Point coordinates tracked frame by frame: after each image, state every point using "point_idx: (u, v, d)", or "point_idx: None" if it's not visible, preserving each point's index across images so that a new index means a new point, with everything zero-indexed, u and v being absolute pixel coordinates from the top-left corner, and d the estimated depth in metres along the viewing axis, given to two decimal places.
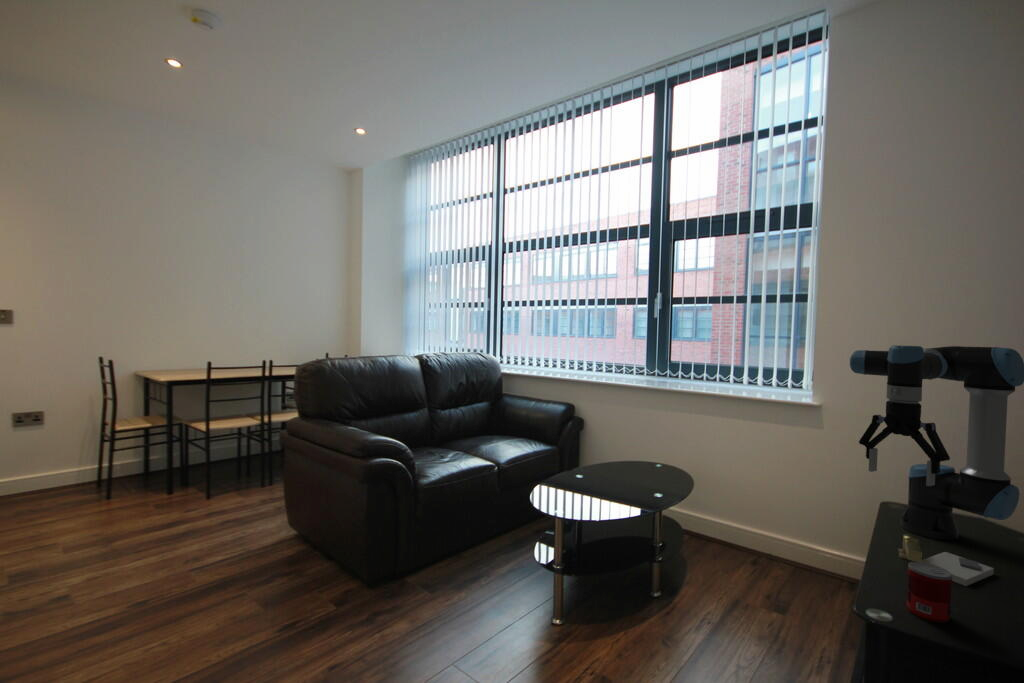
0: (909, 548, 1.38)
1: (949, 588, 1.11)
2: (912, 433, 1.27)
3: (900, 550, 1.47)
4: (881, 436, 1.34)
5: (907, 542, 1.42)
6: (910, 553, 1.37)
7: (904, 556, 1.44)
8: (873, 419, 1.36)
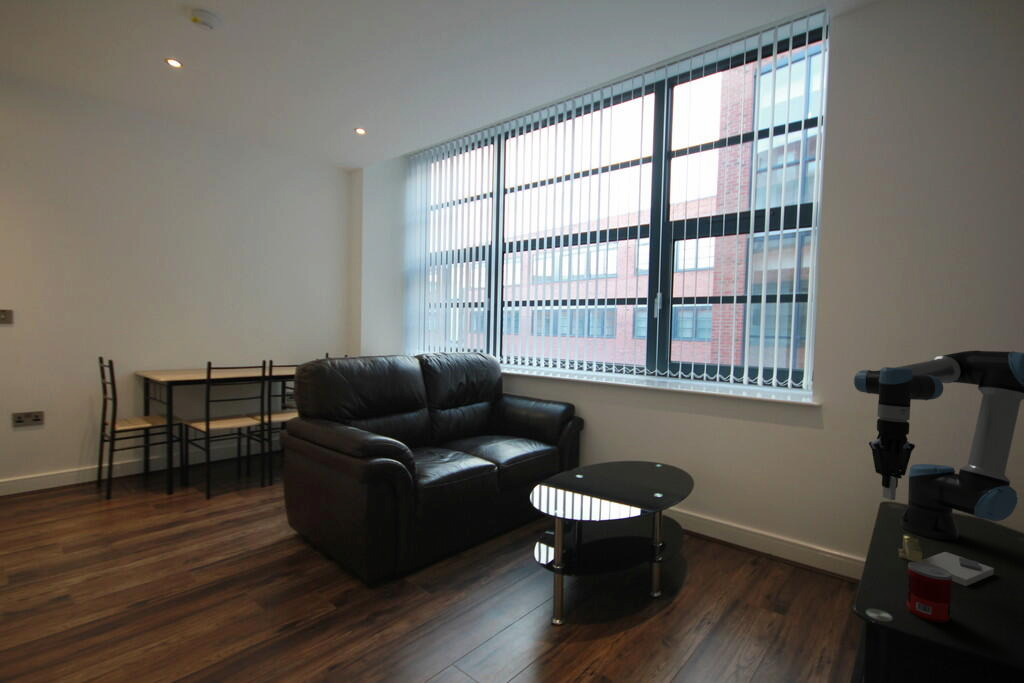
0: (909, 548, 1.38)
1: (949, 588, 1.11)
2: (901, 450, 1.39)
3: (900, 550, 1.47)
4: (891, 459, 1.40)
5: (907, 542, 1.42)
6: (910, 553, 1.37)
7: (904, 556, 1.44)
8: (878, 447, 1.39)
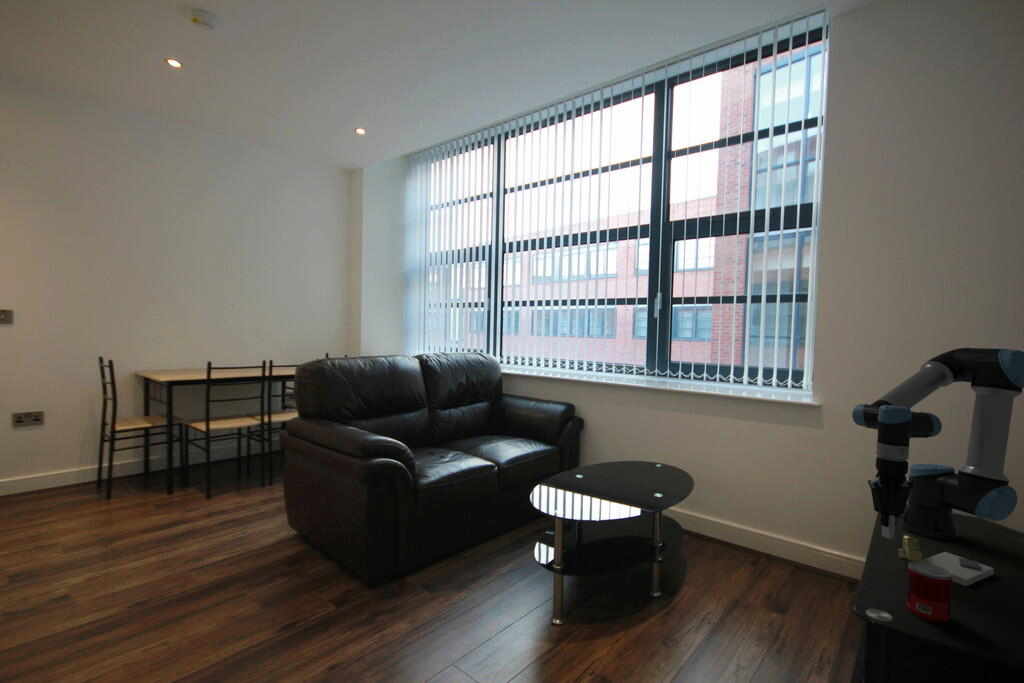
0: (909, 548, 1.38)
1: (949, 588, 1.11)
2: (900, 489, 1.39)
3: (900, 550, 1.47)
4: (890, 498, 1.39)
5: (907, 542, 1.42)
6: (910, 553, 1.37)
7: (904, 556, 1.44)
8: (877, 487, 1.39)
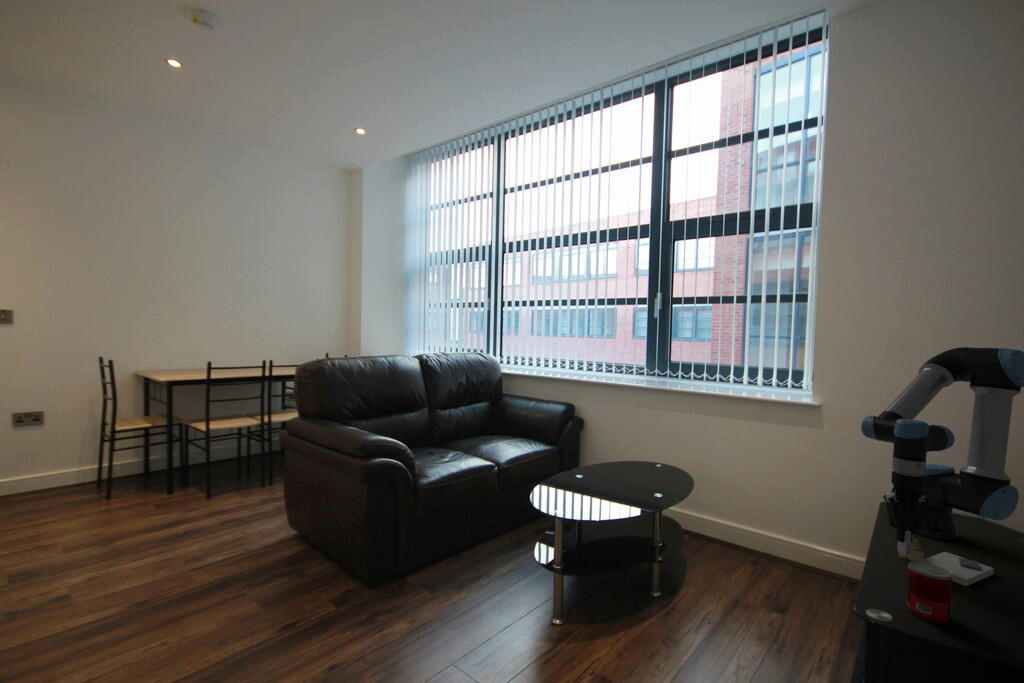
0: (911, 548, 1.38)
1: (949, 588, 1.11)
2: (916, 505, 1.37)
3: None
4: (906, 513, 1.38)
5: None
6: (911, 554, 1.37)
7: (904, 556, 1.44)
8: (892, 502, 1.37)
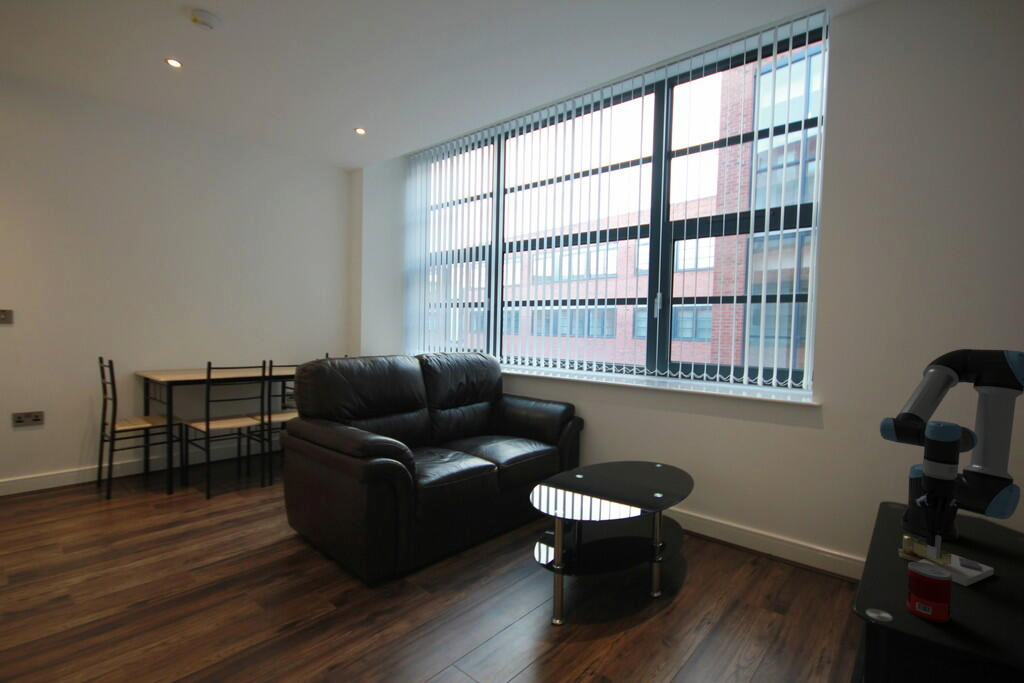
0: (940, 552, 1.36)
1: (949, 588, 1.11)
2: (947, 509, 1.35)
3: (900, 550, 1.47)
4: (937, 517, 1.35)
5: (921, 545, 1.41)
6: (944, 558, 1.35)
7: (904, 556, 1.44)
8: (923, 505, 1.34)
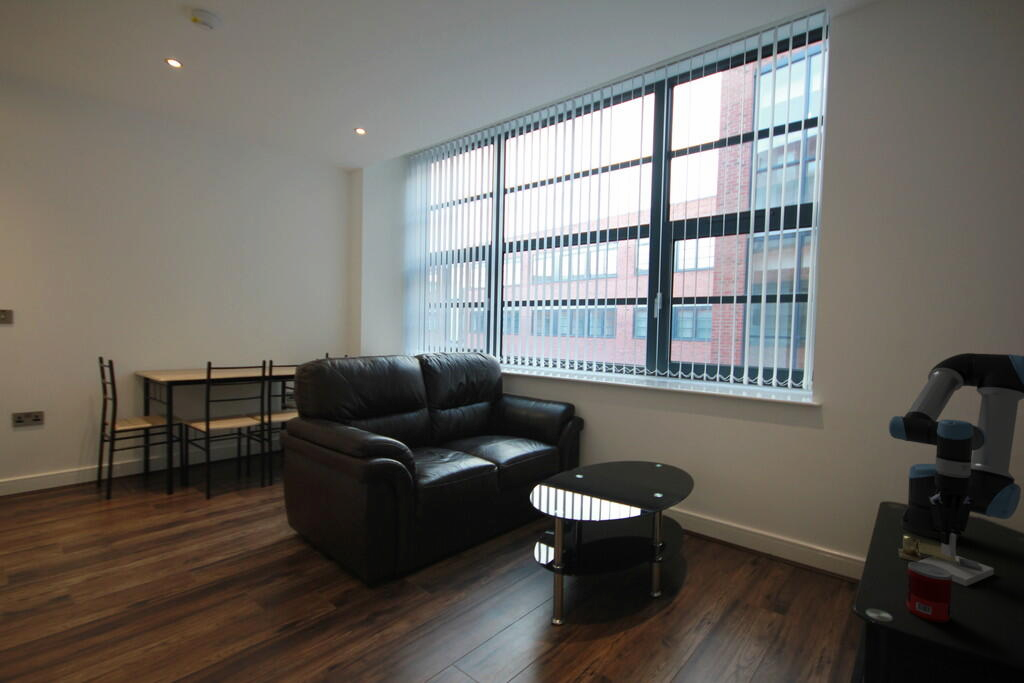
0: None
1: (949, 588, 1.11)
2: (961, 506, 1.36)
3: (900, 550, 1.47)
4: (951, 515, 1.36)
5: (928, 544, 1.41)
6: (955, 553, 1.38)
7: (904, 556, 1.44)
8: (938, 503, 1.35)
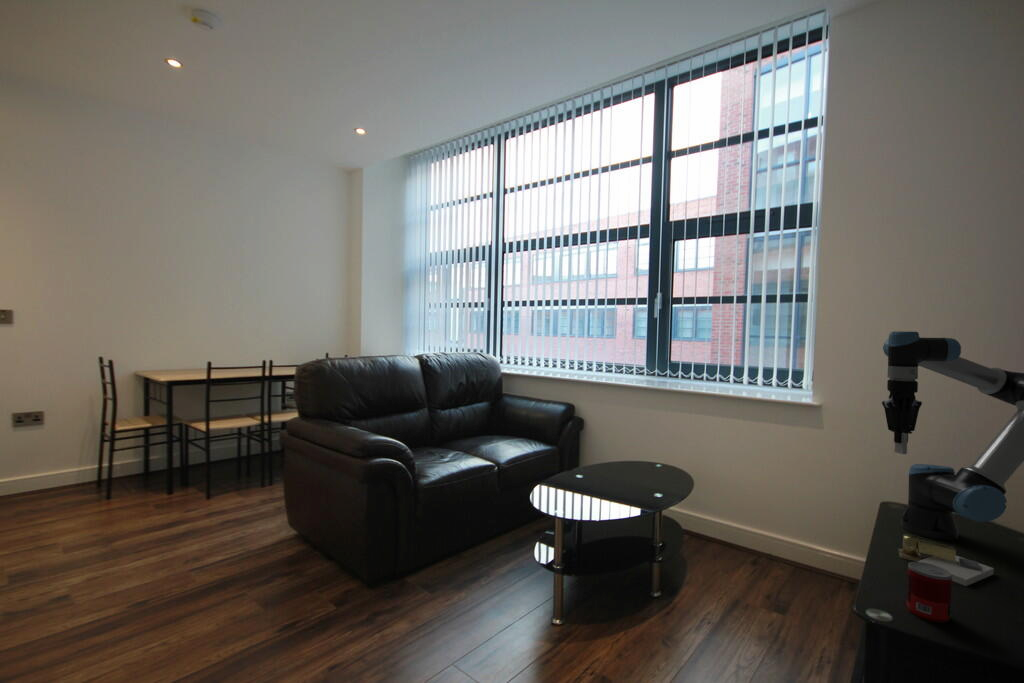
0: (951, 549, 1.38)
1: (949, 588, 1.11)
2: (911, 408, 1.50)
3: (900, 550, 1.47)
4: (902, 416, 1.50)
5: (928, 544, 1.41)
6: (955, 553, 1.38)
7: (904, 556, 1.44)
8: (891, 406, 1.49)
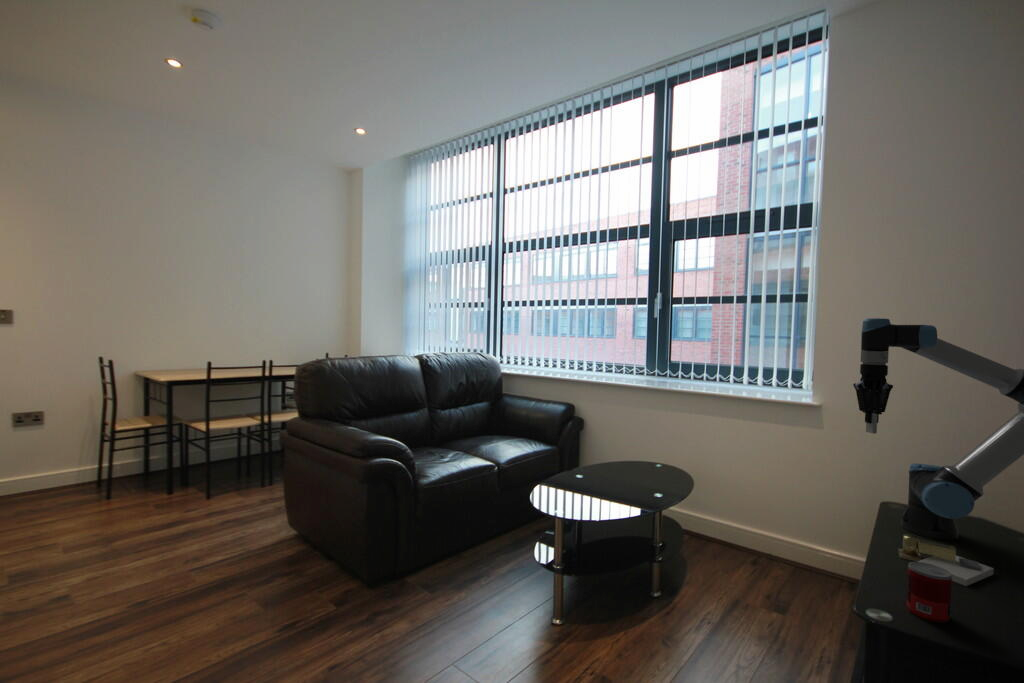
0: (951, 549, 1.38)
1: (949, 588, 1.11)
2: (881, 390, 1.60)
3: (900, 550, 1.47)
4: (873, 398, 1.61)
5: (928, 544, 1.41)
6: (955, 553, 1.38)
7: (904, 556, 1.44)
8: (861, 388, 1.60)
